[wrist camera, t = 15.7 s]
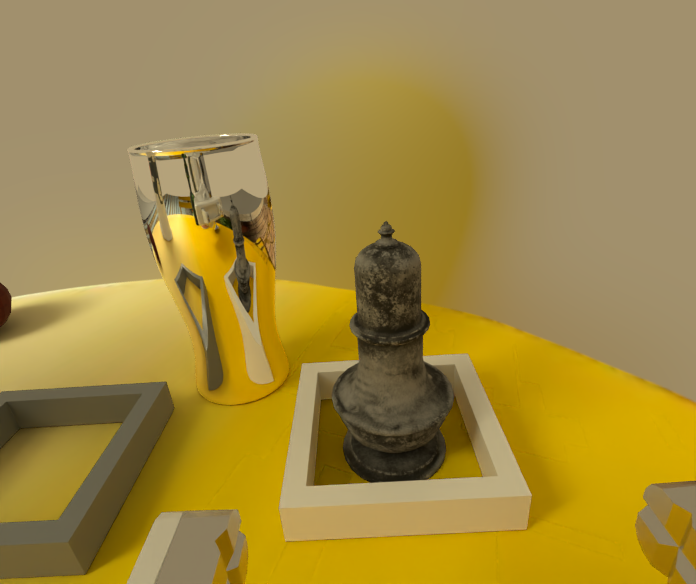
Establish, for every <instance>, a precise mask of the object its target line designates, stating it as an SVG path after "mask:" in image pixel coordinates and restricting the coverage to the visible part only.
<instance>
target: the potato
mask: <svg viewBox="0 0 696 584" xmlns="http://www.w3.org/2000/svg"><path fill="white" fill-rule="evenodd" d="M10 313H11V295H10V293H9V291H8V289H7V288H6V287H5V286H4V285H2V284H1V283H0V327H1V326H2V325H3V324H4V323H5V322H6V321H7V319H8V317H9V315H10Z"/></svg>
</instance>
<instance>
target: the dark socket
mask: <svg viewBox="0 0 696 584" xmlns="http://www.w3.org/2000/svg"><path fill="white" fill-rule="evenodd" d="M173 410H174V405H173V402H172V398H171V395H170V392H169V389H168V385H167V382H153V383H136V384H120V385H103V386H87V387H70V388H54V389H37V390H21V391H4V392H1V393H0V448H1V447H2V446H3V445H4V444H5V443H6V442H7V441H8V440H9V439H10V438H11V437H12V436H13V435H14V434H15V433H16V432H17V431H18V430H19V429H20V428H32V427H49V426H67V425H84V424H101V423H118V422H123V424H122V425H121V427H120V428H119V430H118V431H117V433H116V434H115V436H114V437H113V439H112V440H111V442H110V443H109V445H108V446H107V448H106V449H105V451H104V452H103V454H102V455H101V457H100V458H99V460H98V461H97V463H96V464H95V466H94V467H93V469H92V470H91V472H90V473H89V475H88V476H87V478H86V479H85V481H84V482H83V484H82V485H81V487H80V488H79V490H78V491H77V493H76V494H75V496H74V497H73V499H72V500H71V502H70V503H69V505H68V506H67V508H66V509H65V511H64V512H63V514H62V515H61V517H60V518H59V520H47V521H28V522H8V523H0V579H4V578H25V577H46V576H67V575H85V574H86V572H87V571H88V569H89V567H90V565H91V563H92V561H93V559H94V558H95V556H96V554H97V552H98V550H99V548H100V546H101V544H102V543H103V541H104V539H105V537H106V535H107V533H108V531H109V530H110V528H111V526H112V524H113V522H114V520H115V518H116V516H117V515H118V513H119V511H120V509H121V507H122V505H123V503H124V502H125V500H126V498H127V496H128V494H129V492H130V490H131V488H132V487H133V485H134V483H135V481H136V479H137V477H138V475H139V474H140V472H141V470H142V468H143V466H144V464H145V462H146V461H147V459H148V457H149V455H150V453H151V451H152V449H153V447H154V446H155V444H156V442H157V440H158V438H159V436H160V434H161V433H162V431H163V429H164V427H165V425H166V423H167V421H168V419H169V418H170V416H171V414H172V412H173Z"/></svg>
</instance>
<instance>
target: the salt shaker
mask: <svg viewBox="0 0 696 584" xmlns="http://www.w3.org/2000/svg"><path fill="white" fill-rule="evenodd" d="M378 233H379V234H380V235H381V239H379V240H377V241H376V242H375V243H373V244H370V245H369V246H367V247H366V248H364V249H363V250H362V251H361V252H360V253H359V254H358V256H357V257H356V260H355V267H354V271H355V286H356V300H357V313H356V314H355V315H354V316H353V317H352V319H351V320H350V329H351V331H352V333H353V334H354V335H355V336H356V337H357V338H358V351H359V363H357V364H355V365H353V366H351V367H350V368H348V369H347V370H346V371H345V372H343V373H342V374H341V375H340V376H339V377H338V379H337V381H336V382H335V384H334V386H333V391H332V401H333V405H334V408H335V410H336V411H337V413H338V414H339V415H340V417H341V418H342V421H343V422H344V424H345V425H346V427H347V428H348V431H347V434H346V436H345V438H344V445H343V451H344V455H345V459H346V461H347V463H348V464H349V466H350V468H351V469H352V470H353V471H354V472H355V473H356V474H357V475H359V476H360V477H361V478H363V479H365V480H367V481H369V482H371V483H378V482H397V481H416V480H426V479H429V478H430V477H431V476H432V475H433V474H434V473H436V472H437V471H438V470H439V468H440V466H441V465H442V463H443V461H444V458H445V452H446V446H445V440H444V437H443V435H442V433H441V431H440V430H439V428H440V427H441V425H442V423H443V422H444V420H445V417H446V416H447V414H448V413H449V411H450V410H451V408H452V405H453V400H454V392H453V388H452V384H451V383H450V381H449V380H448V378H447V377H446V375H445V374H443V373H442V372H441V371H440V370H439V369H437V368H436V367H434V366H432V365H431V364H429V363H427V362H425V361H424V360H423V335H424V334H425V333H426V331H427V330H428V328H429V326H430V321H429V317H428V316H427V314H426V313H425V312H424V311H422V310H421V262H420V258H419V255H418V254H417V252H416V251H415V250H414V249H413V248H412V247H411V246H409V245H407V244H405V243H403V242H399V241H397V240H396V239H392V233H394V229H392V227H391V225H389V224H388V222H387V221H386V222H384V225H382V226H381V230H379V231H378Z"/></svg>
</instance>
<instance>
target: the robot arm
mask: <svg viewBox="0 0 696 584" xmlns="http://www.w3.org/2000/svg"><path fill="white" fill-rule="evenodd" d="M643 498H644V500H645V501H646V502H647V504H648V505H647V506H646V507H645V508H644V509H642V510H641V511H640V512H639V513H638V516H637V520H636V524H635V527H636V532H637V538H638V541H639V544H640V546H641V548H642V551H643V553H644V554H645V556H646V557H647V559H648V561H649V562H650V564H651V565H652V566H653V567H654V568H656V569H657V570H658V571H660V572H661V573H663V574H664V575H665V576H667V577H668V583H667V584H696V481H686V482H672V483H659V484H651V485H650V486H648V487H647V488H646V489H645V492H644V496H643ZM240 523H241V519H240V515H239V512H238V510H206V511H178V512H161V514H160V515H159V516H158V517H157V518H156V520H155V521H154V523H153V525H152V528H151V530H150V532H149V534H148V537H147V539H146V541H145V543H144V546H143V548H142V550H141V552H140V555H139V557H138V559H137V561H136V564H135V566H134V568H133V570H132V573H131V575H130V577H129V579H128V582H127V584H245V580H246V574H247V564H248V548H247V541H246V537H245V535H244V534H242V533H241V532H240V531H239V528H240Z"/></svg>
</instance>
